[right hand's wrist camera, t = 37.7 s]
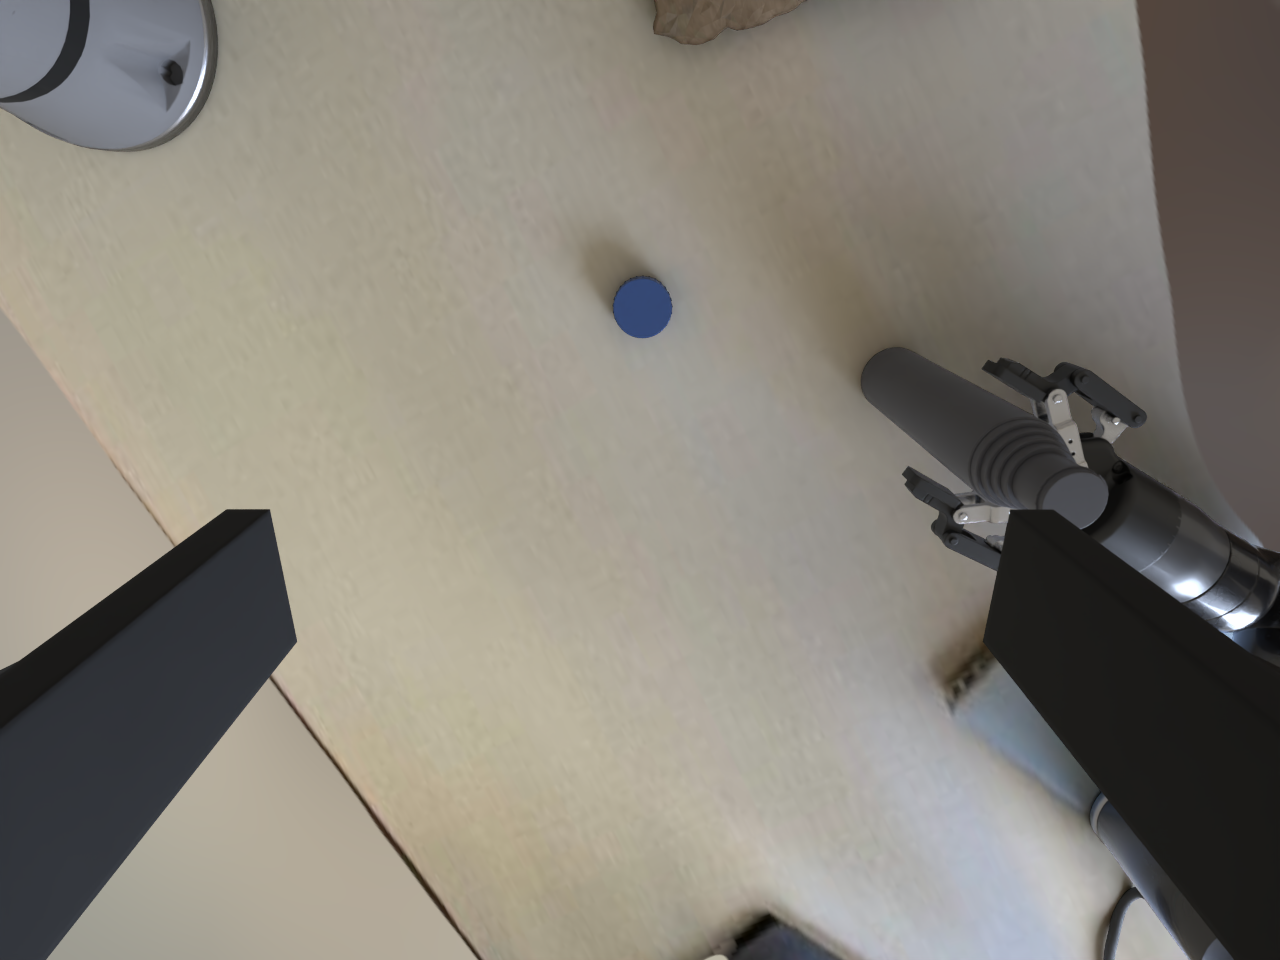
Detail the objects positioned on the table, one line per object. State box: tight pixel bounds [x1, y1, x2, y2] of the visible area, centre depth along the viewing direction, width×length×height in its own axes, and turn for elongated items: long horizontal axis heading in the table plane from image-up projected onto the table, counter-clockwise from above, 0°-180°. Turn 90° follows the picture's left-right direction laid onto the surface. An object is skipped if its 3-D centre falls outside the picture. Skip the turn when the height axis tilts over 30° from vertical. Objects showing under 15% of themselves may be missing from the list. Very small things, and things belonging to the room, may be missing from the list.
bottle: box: [861, 347, 1109, 529], centre depth 41 cm, size 5×5×24 cm
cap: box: [613, 276, 672, 338], centre depth 49 cm, size 4×4×2 cm
